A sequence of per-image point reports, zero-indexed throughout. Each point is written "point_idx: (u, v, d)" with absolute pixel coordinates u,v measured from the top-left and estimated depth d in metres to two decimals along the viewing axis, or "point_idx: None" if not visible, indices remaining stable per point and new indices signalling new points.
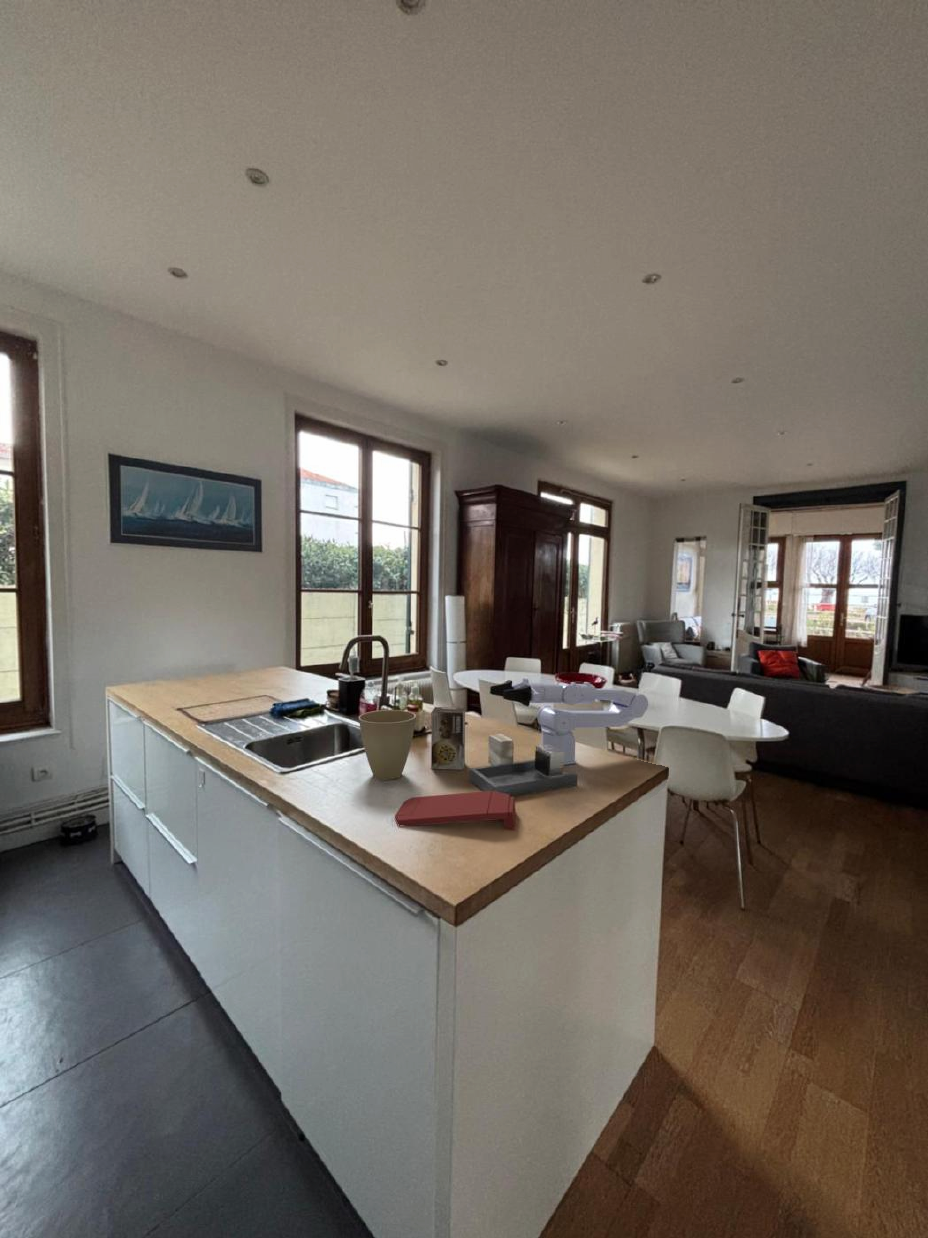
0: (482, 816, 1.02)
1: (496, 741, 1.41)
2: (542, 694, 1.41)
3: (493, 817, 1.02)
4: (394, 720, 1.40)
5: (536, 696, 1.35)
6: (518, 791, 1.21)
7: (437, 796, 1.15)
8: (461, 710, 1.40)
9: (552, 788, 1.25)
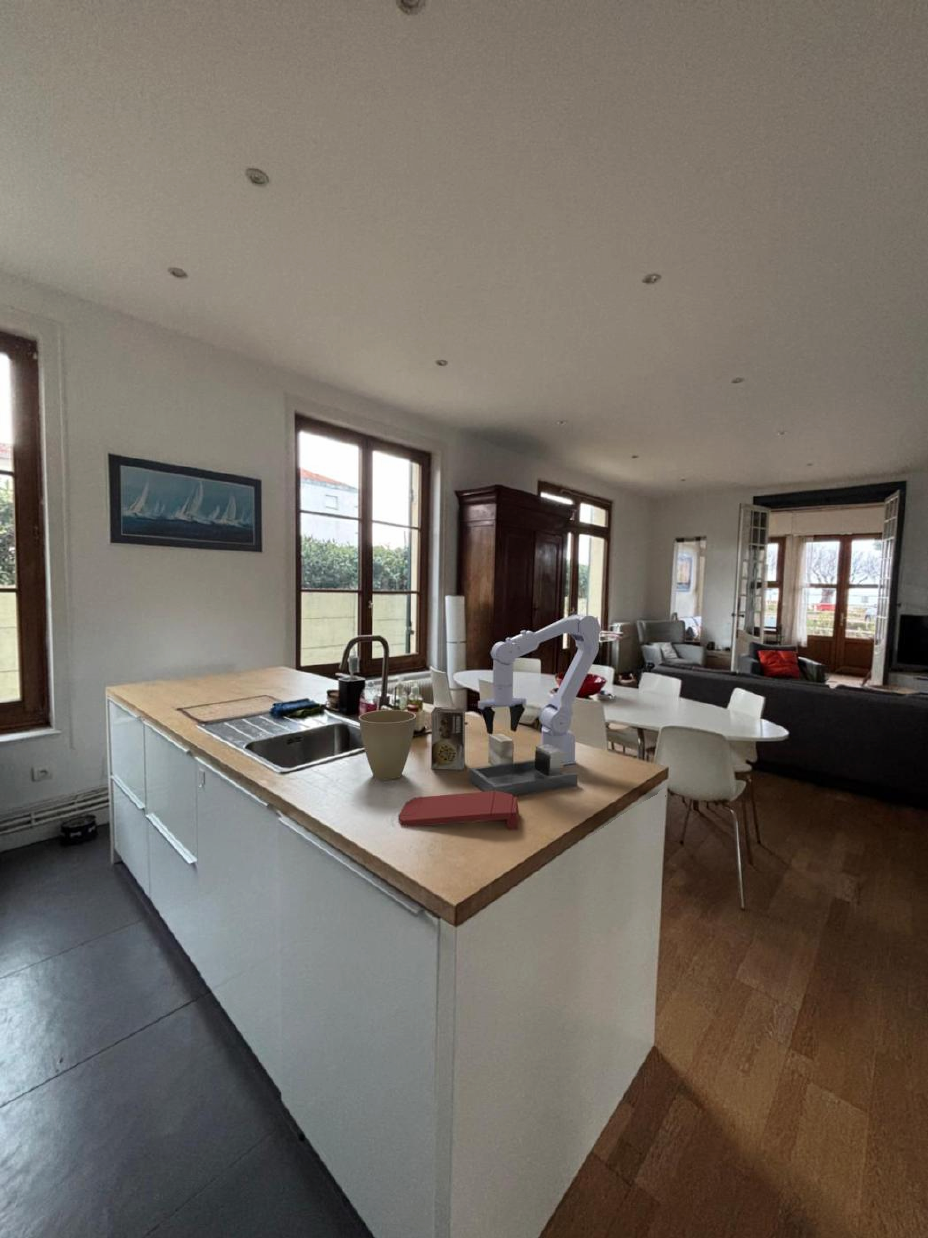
0: (486, 816, 1.02)
1: (496, 741, 1.41)
2: (494, 687, 1.41)
3: (497, 817, 1.02)
4: (394, 720, 1.39)
5: (479, 705, 1.39)
6: (518, 791, 1.21)
7: (440, 796, 1.15)
8: (461, 710, 1.40)
9: (552, 788, 1.25)
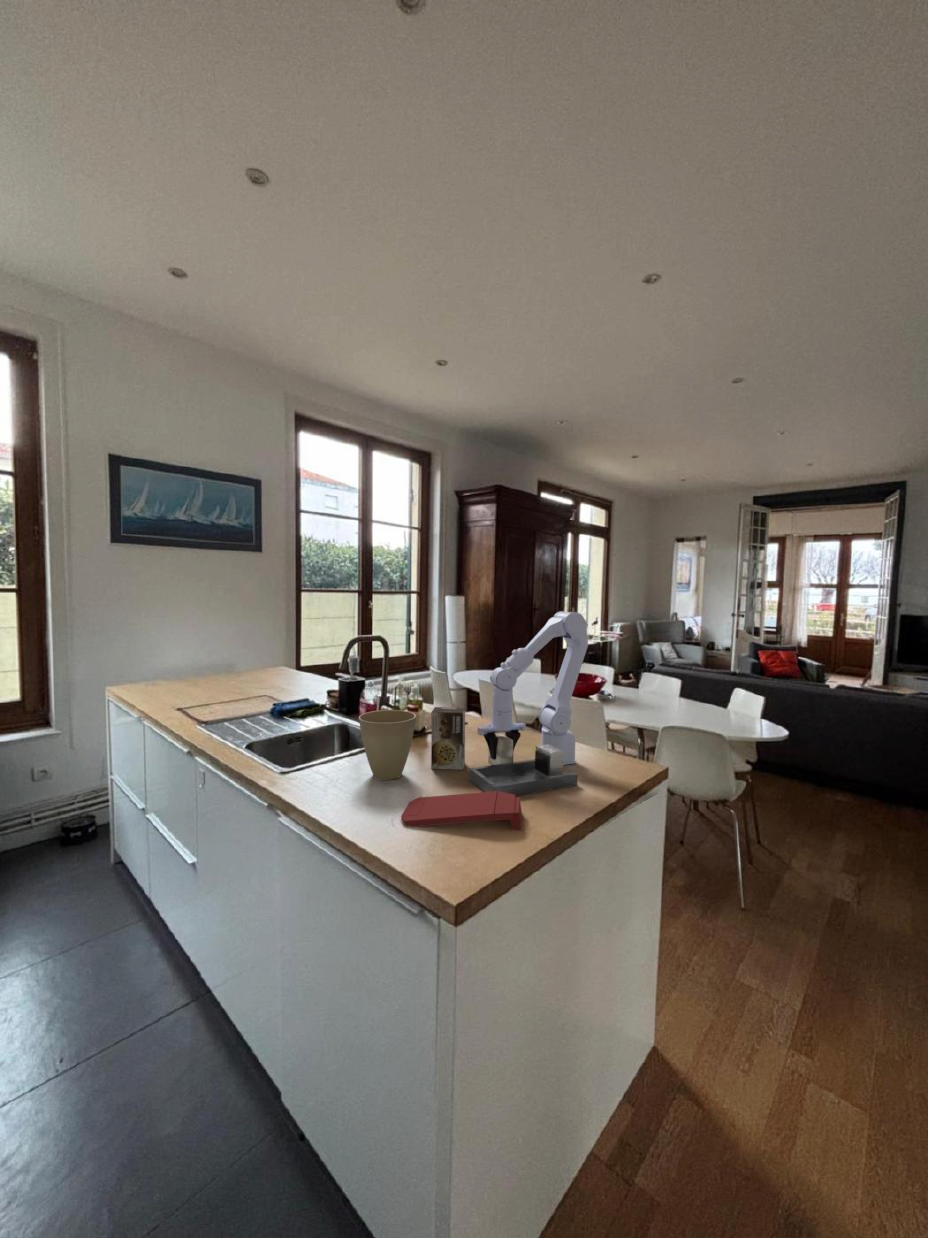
0: (489, 817, 1.02)
1: None
2: (493, 713, 1.41)
3: (500, 817, 1.02)
4: (394, 720, 1.40)
5: (478, 731, 1.40)
6: (518, 791, 1.21)
7: (442, 796, 1.15)
8: (461, 710, 1.40)
9: (552, 788, 1.25)
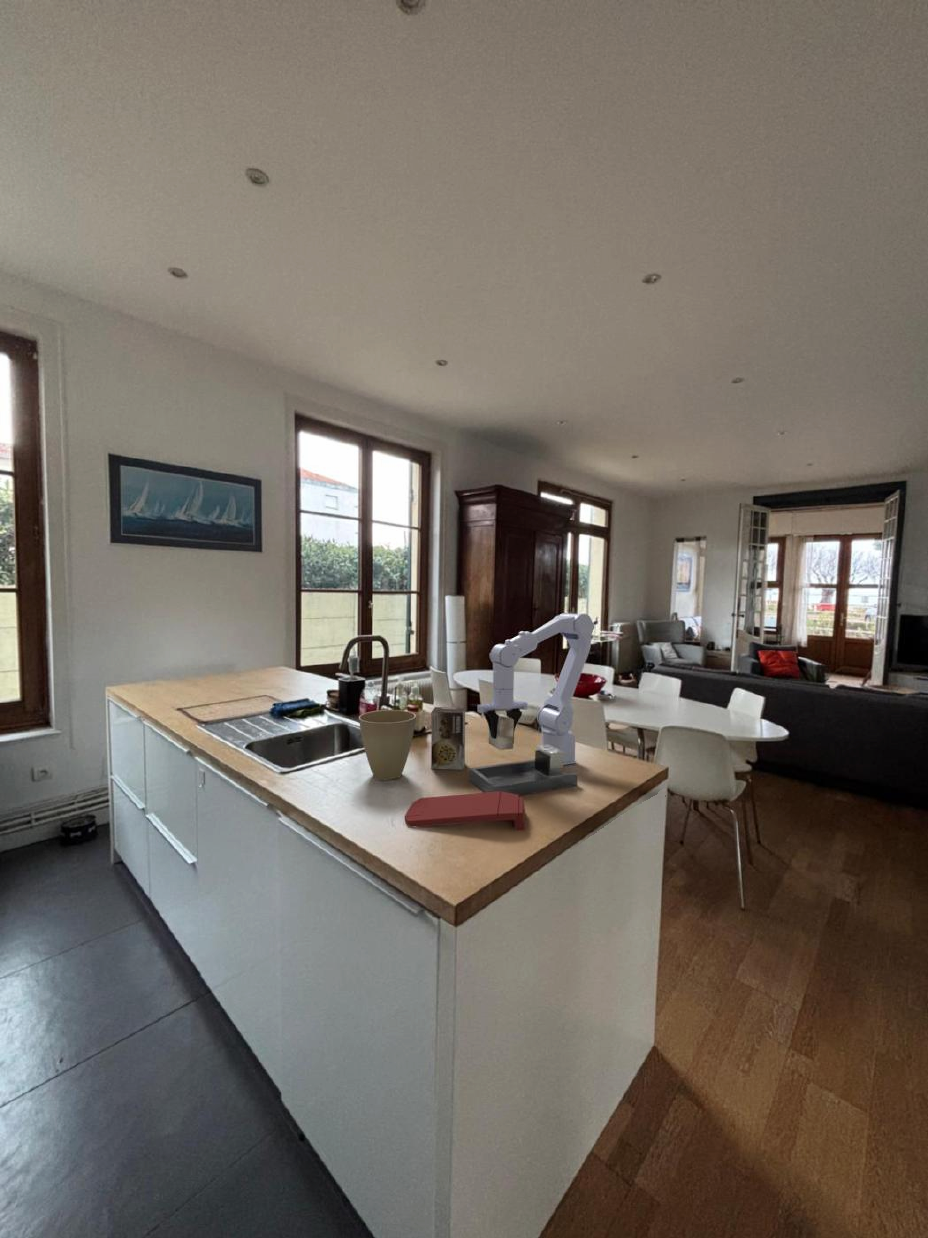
0: (493, 817, 1.02)
1: None
2: (494, 690, 1.37)
3: (503, 818, 1.02)
4: (394, 720, 1.40)
5: (478, 709, 1.36)
6: (518, 791, 1.21)
7: (446, 797, 1.15)
8: (461, 710, 1.40)
9: (552, 788, 1.25)
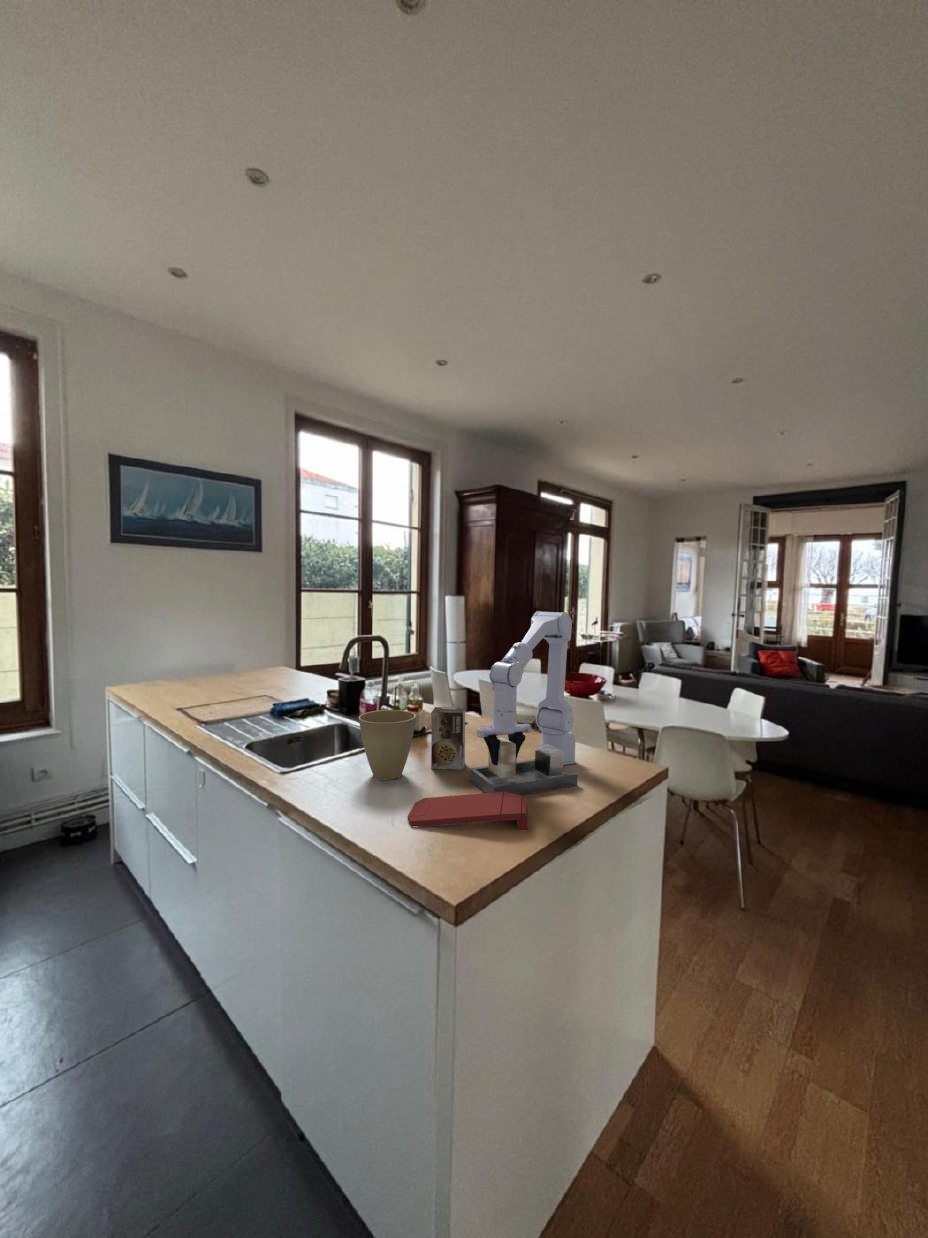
0: (496, 817, 1.02)
1: None
2: (494, 713, 1.25)
3: (507, 818, 1.02)
4: (394, 720, 1.40)
5: (478, 733, 1.24)
6: (518, 791, 1.21)
7: (449, 797, 1.15)
8: (461, 710, 1.40)
9: (552, 788, 1.25)
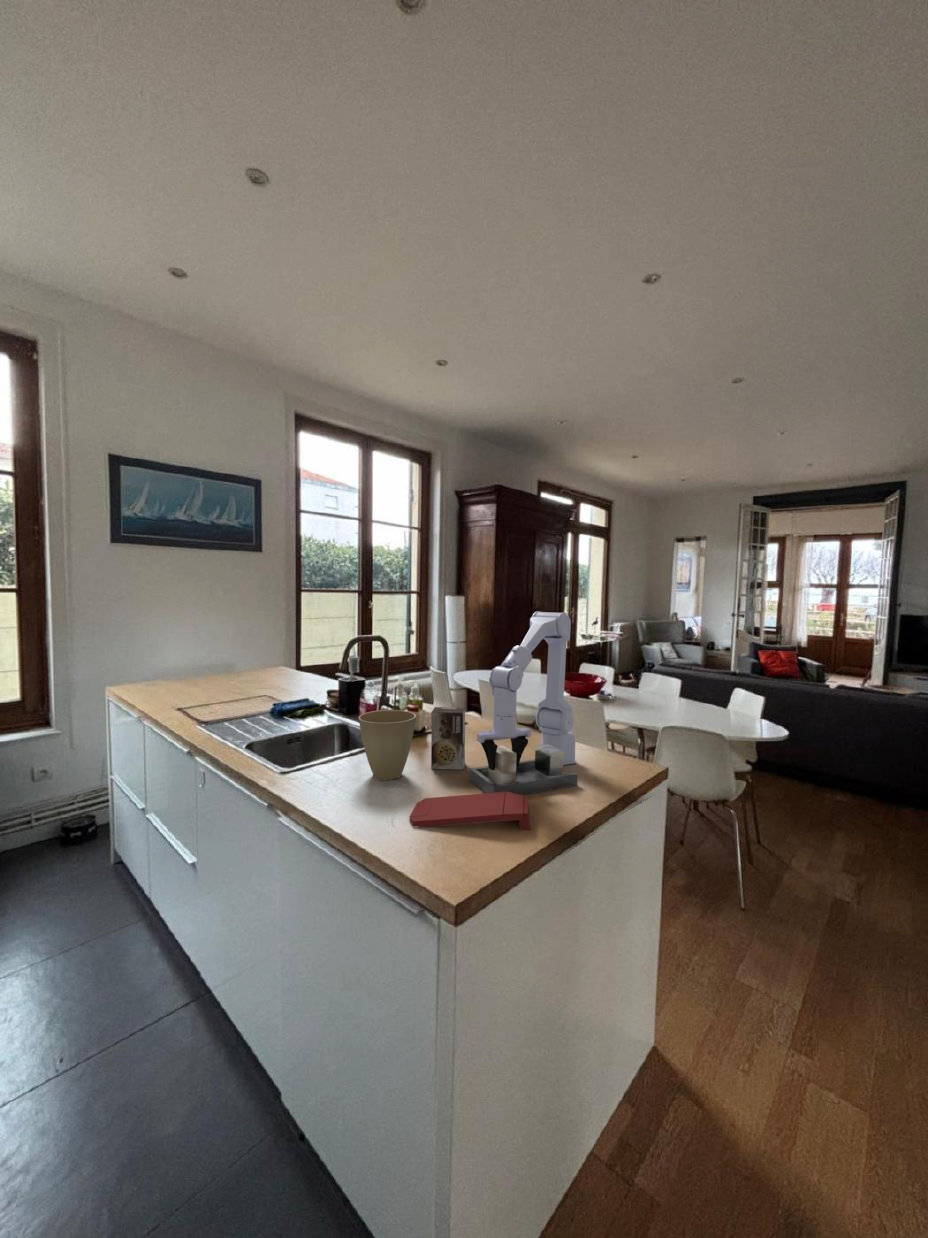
0: (498, 817, 1.02)
1: (497, 755, 1.25)
2: (494, 717, 1.25)
3: (509, 818, 1.02)
4: (394, 720, 1.39)
5: (478, 738, 1.24)
6: (518, 791, 1.21)
7: (450, 797, 1.14)
8: (461, 710, 1.40)
9: (552, 788, 1.25)
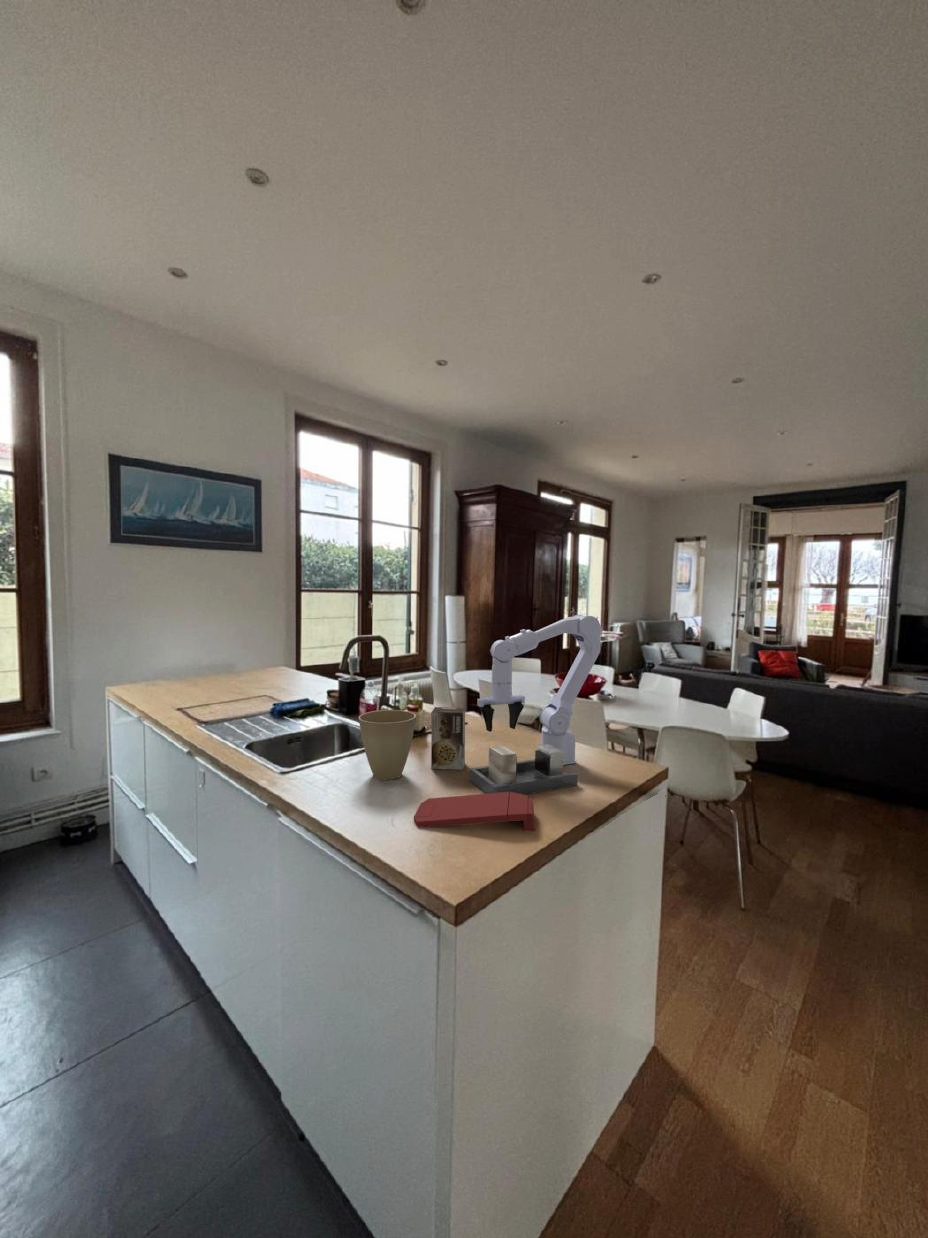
0: (502, 818, 1.02)
1: (497, 755, 1.25)
2: (493, 685, 1.42)
3: (513, 818, 1.02)
4: (394, 720, 1.39)
5: (478, 703, 1.41)
6: (518, 791, 1.21)
7: (454, 797, 1.14)
8: (461, 710, 1.40)
9: (552, 788, 1.25)
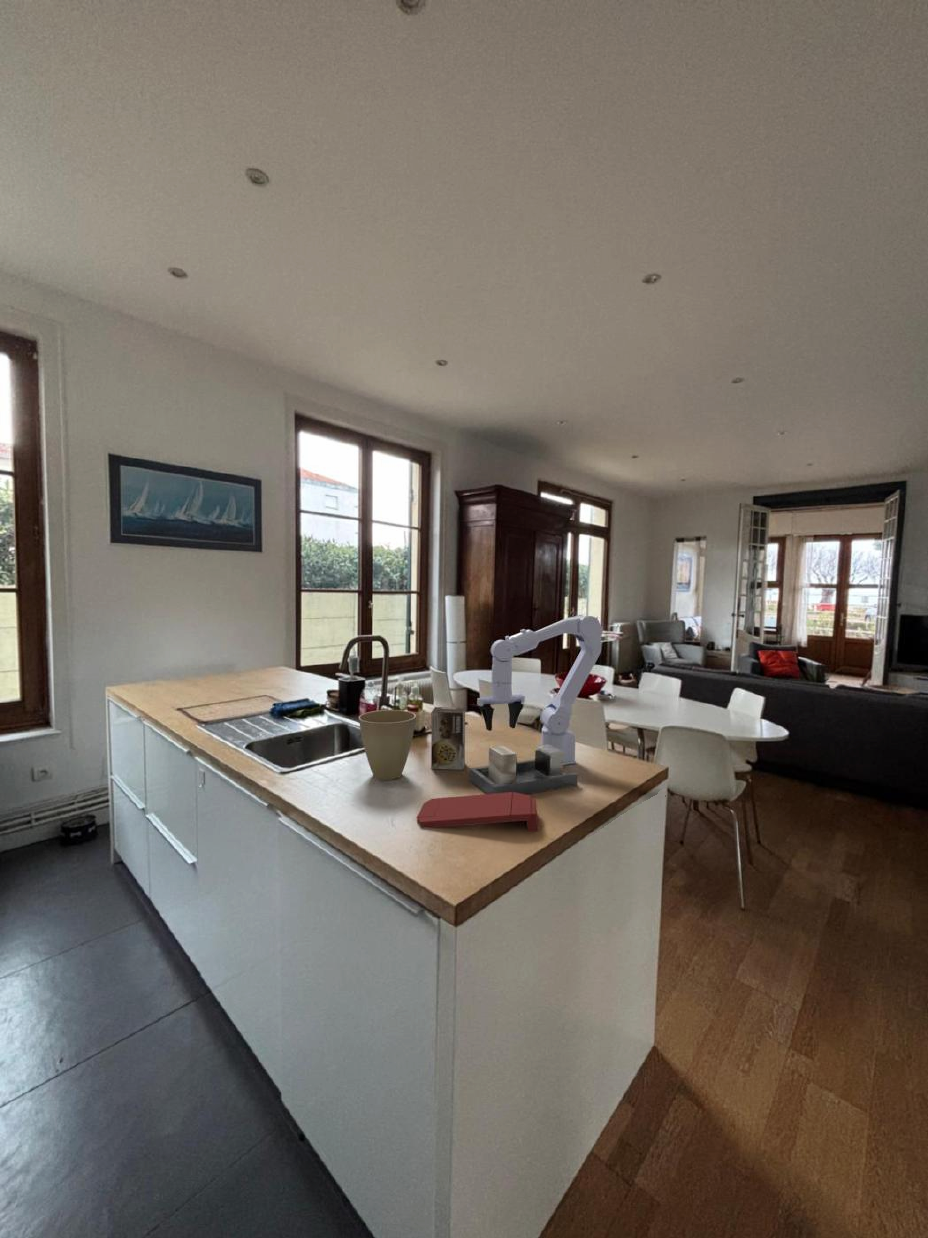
0: (506, 818, 1.01)
1: (497, 755, 1.25)
2: (492, 684, 1.43)
3: (517, 819, 1.02)
4: (394, 720, 1.40)
5: (478, 702, 1.42)
6: (518, 791, 1.21)
7: (457, 797, 1.14)
8: (461, 710, 1.40)
9: (552, 788, 1.25)
